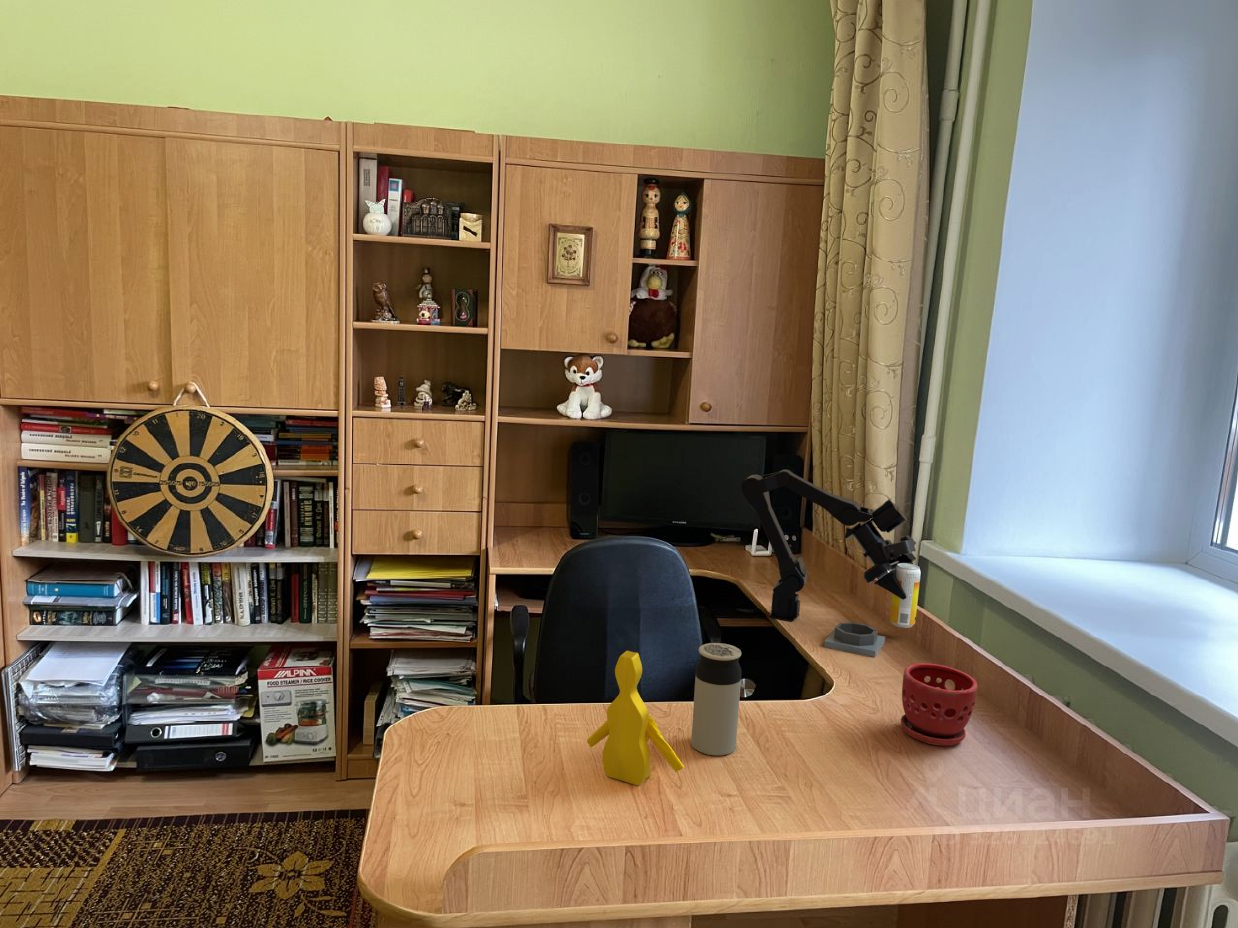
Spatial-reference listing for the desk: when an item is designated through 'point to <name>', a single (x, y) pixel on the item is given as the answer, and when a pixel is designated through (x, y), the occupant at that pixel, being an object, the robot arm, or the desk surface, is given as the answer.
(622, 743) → the figure statuette
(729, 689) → the travel mug
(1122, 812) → the desk surface
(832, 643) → the collar dock
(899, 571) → the beer can
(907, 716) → the plant pot
